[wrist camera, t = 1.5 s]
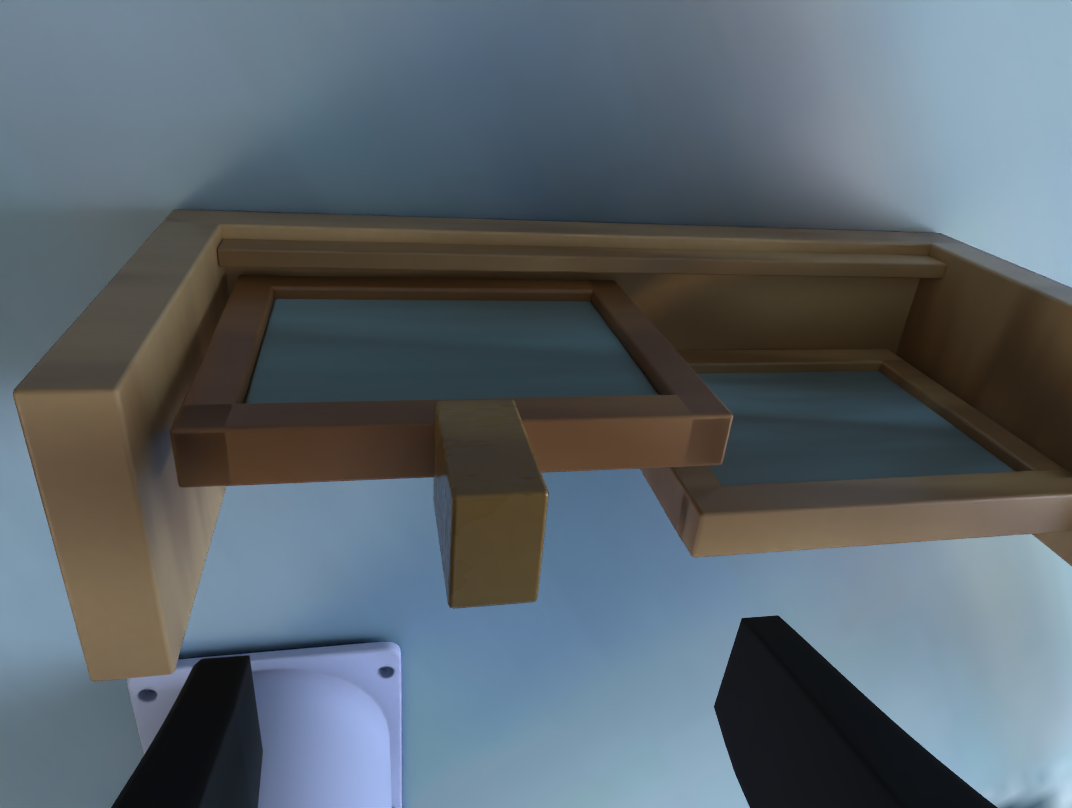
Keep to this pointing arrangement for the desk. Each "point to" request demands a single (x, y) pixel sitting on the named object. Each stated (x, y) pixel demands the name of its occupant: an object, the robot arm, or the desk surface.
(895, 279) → the window frame
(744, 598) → the desk surface
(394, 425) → the sash
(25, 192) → the desk surface
